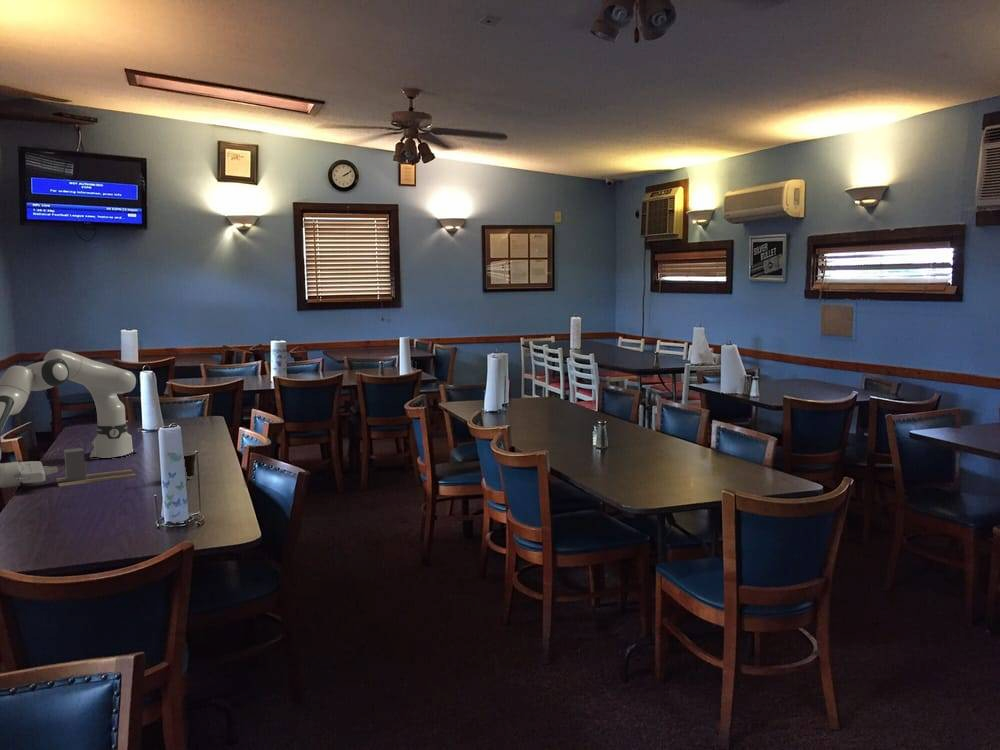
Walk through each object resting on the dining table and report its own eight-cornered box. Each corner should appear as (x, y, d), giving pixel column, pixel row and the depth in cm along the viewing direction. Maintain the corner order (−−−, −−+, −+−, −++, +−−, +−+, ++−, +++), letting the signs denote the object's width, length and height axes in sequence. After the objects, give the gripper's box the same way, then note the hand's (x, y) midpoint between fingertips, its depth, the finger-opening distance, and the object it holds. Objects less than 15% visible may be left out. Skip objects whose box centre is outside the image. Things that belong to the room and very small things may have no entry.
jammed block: (65, 480, 289) (63, 449, 288) (83, 478, 292) (81, 447, 291) (67, 484, 284) (65, 452, 283) (85, 481, 287) (83, 450, 286)
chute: (56, 484, 289) (56, 478, 289) (131, 474, 304) (131, 469, 303) (58, 489, 281) (58, 484, 281) (136, 479, 296) (135, 474, 295)
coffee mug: (191, 481, 294) (190, 456, 292) (169, 481, 293) (168, 456, 292) (203, 474, 305) (202, 449, 304) (181, 474, 305) (180, 449, 304)
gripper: (14, 471, 268) (59, 466, 276) (12, 460, 285) (54, 455, 292) (15, 489, 269) (60, 483, 276) (13, 476, 285) (56, 471, 293)
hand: (57, 469), depth 285 cm, fingers closed
